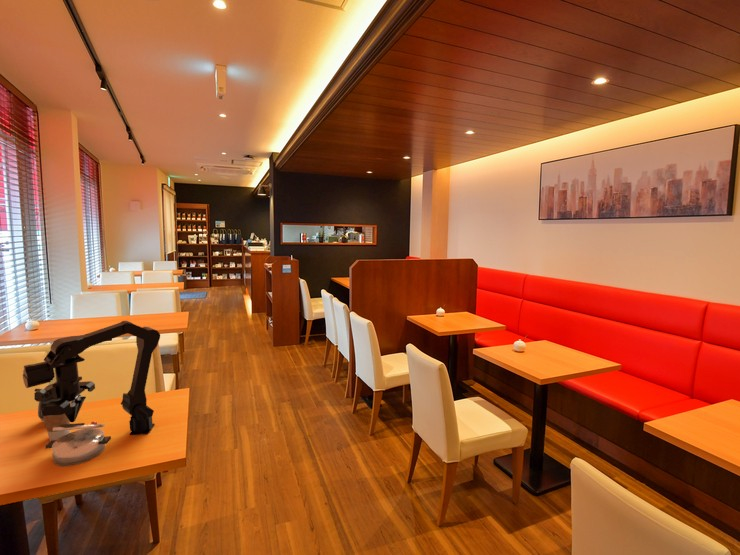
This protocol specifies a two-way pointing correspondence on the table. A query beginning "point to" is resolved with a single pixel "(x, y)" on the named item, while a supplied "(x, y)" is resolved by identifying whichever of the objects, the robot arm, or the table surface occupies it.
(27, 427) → the table surface
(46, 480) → the table surface
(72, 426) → the lid
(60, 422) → the coffee cup
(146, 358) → the robot arm
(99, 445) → the pot
